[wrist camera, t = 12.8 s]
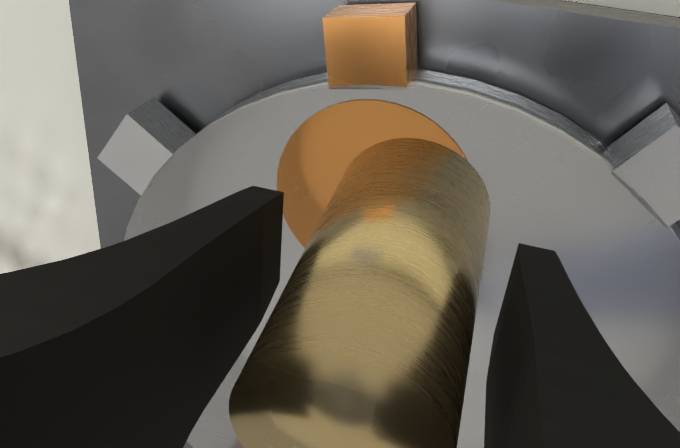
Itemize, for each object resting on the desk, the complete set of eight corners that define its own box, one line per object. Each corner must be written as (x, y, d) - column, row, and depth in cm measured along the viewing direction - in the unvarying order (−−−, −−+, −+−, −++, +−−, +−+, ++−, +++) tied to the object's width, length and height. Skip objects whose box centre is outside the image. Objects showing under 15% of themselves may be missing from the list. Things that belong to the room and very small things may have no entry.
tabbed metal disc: (365, -211, 12) (252, -242, 7) (961, 408, 14) (1140, 659, 10) (13, 298, 21) (-127, 417, 17) (408, 613, 24) (376, 787, 19)
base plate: (941, 55, 12) (968, 71, 11) (632, 589, 22) (635, 619, 21) (87, -69, 16) (60, -64, 15) (142, 439, 25) (128, 460, 24)
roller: (504, 152, 12) (473, 388, 8) (476, 279, 14) (438, 533, 10) (342, 126, 13) (221, 329, 8) (336, 251, 15) (234, 477, 10)
